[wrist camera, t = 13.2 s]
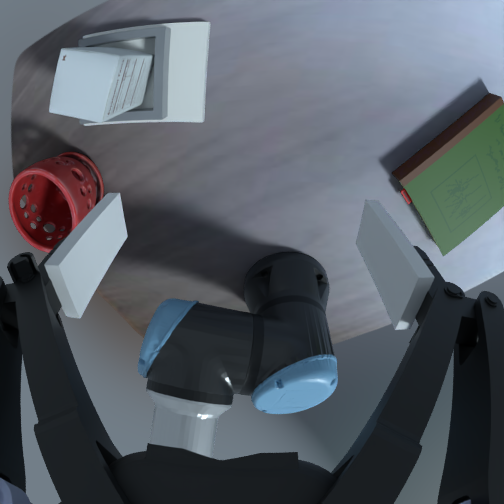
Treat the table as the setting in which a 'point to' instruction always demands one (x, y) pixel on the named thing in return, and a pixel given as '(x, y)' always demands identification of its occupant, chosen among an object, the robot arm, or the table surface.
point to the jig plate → (164, 70)
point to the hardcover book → (459, 175)
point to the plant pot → (55, 197)
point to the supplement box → (100, 82)
